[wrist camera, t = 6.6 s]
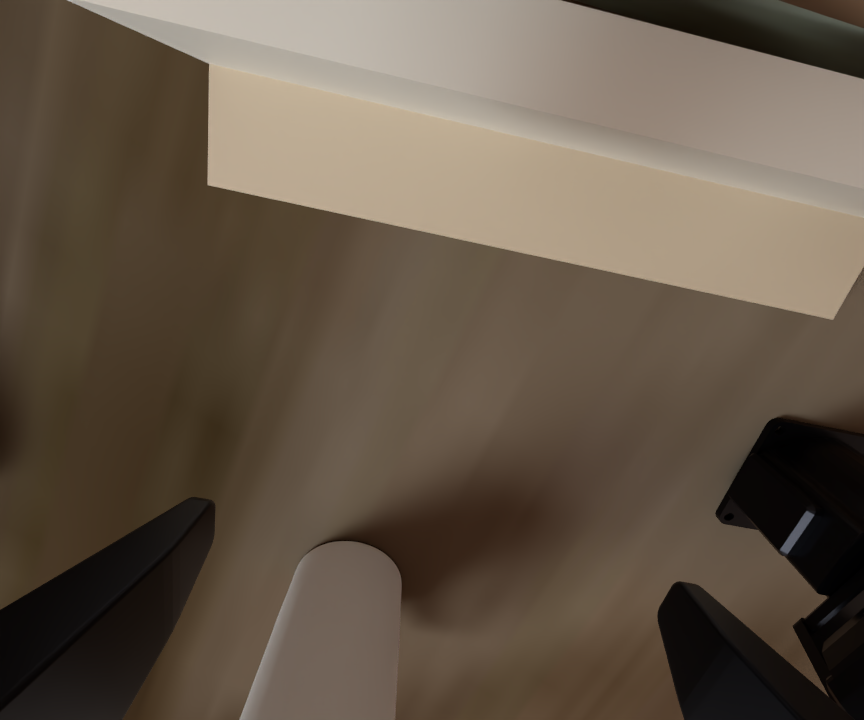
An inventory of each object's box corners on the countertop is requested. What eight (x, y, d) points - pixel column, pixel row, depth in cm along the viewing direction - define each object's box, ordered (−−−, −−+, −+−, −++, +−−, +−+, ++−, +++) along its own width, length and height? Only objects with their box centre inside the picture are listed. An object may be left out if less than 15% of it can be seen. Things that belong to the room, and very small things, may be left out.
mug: (269, 555, 26) (148, 842, 15) (375, 520, 25) (328, 801, 14) (349, 662, 30) (299, 956, 19) (445, 635, 29) (451, 930, 18)
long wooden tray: (895, 168, 18) (1218, 171, 10) (814, 312, 20) (1032, 397, 13) (223, 3, 16) (40, -136, 9) (219, 183, 18) (72, 196, 11)
